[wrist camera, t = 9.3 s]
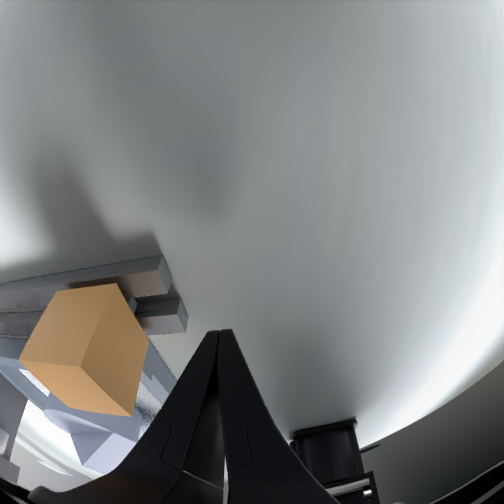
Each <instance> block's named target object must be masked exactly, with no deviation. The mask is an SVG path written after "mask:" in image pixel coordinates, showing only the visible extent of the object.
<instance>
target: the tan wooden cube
mask: <svg viewBox="0 0 504 504" xmlns="http://www.w3.org/2000/svg"><path fill="white" fill-rule="evenodd" d="M136 307H137V303H136V301H135V299H134V298H126V299H125V298H124V296H123V295H122V293H121V291H120V289H119V287H118V285H117V283H114V284H106V285H99V286H91V287H84V288H76V289H68V290H61V291H57V292H56V293H55V295H54V296H53V298H52V300H51V301H50V303H49V305H48V306H47V308H46V309H45V311H44V313H43V315H42V316H41V318H40V320H39V321H38V323H37V325H36V327H35V328H34V330H33V332H32V334H31V336H30V338H29V340H28V341H27V343H26V345H25V347H24V349H23V351H22V353H21V355H20V357H19V361H20V362H21V363H22V364H23V365H24V366H25V367H26V368H27V369H28V370H29V371H30V372H31V373H32V374H33V375H34V376H35V377H36V378H37V379H38V380H39V381H40V382H41V383H42V384H43V385H44V386H45V387H46V388H47V389H49V390H50V391H51V392H52V393H53V394H54V395H55V396H56V397H57V398H59V399H60V400H61V401H62V402H63V403H64V404H66V405H67V406H68V407H70V408H74V409H80V410H85V411H91V412H97V413H104V414H111V415H119V416H129V417H132V416H133V411H134V406H135V401H136V396H137V391H138V387H139V382H140V378H141V373H142V369H143V365H144V361H145V357H146V353H147V349H148V345H149V339H148V337H147V336H146V334H145V333H144V331H143V329H142V328H141V326H140V324H139V323H138V321H137V319H136V318H135V316H134V312H135V309H136Z"/></svg>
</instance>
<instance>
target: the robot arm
mask: <svg viewBox="0 0 504 504" xmlns="http://www.w3.org/2000/svg"><path fill="white" fill-rule="evenodd" d="M357 424H358V423H357V420H351V421H347V422H343V423H339V424H334V425H329V426H325V427H320V428H314V429H309V430H303V431H297V432H294V433H293V439H294V441H291V442H290V443H289V444H290V446H289V444H288V443H287V442H286V440H285V439H284V437H283V436H282V434H281V433H280V431H279V430H278V428H277V426H276V425H275V423H274V421H273V419H272V417H271V415H270V413H269V411H268V409H267V407H266V405H265V403H264V401H263V398H262V396H261V394H260V392H259V390H258V388H257V385H256V383H255V381H254V379H253V376H252V374H251V372H250V370H249V367H248V365H247V363H246V361H245V358H244V356H243V354H242V351H241V349H240V347H239V344H238V342H237V340H236V337H235V335H234V333H233V330H232V329H222V330H220V331H219V330H212V331H208V332H207V333H206V335H205V337H204V338H203V340H202V342H201V343H200V345H199V347H198V348H197V350H196V351H195V353H194V355H193V356H192V358H191V360H190V361H189V363H188V365H187V366H186V368H185V370H184V371H183V373H182V374H181V376H180V378H179V379H178V381H177V383H176V384H175V386H174V388H173V389H172V391H171V392H170V394H169V396H168V397H167V399H166V401H165V402H164V404H163V406H162V407H161V409H160V410H159V412H158V414H157V415H156V417H155V418H154V420H153V421H152V423H151V424H150V426H149V427H148V429H147V430H146V432H145V433H144V434H143V436H142V437H141V438H140V440H139V441H138V442H137V443H136V444H135V446H134V447H133V448H132V449H131V451H130V452H129V453H128V454H127V456H126V457H125V458H124V459H123V460H122V462H121V463H120V464H119V465H118V466H117V467H116V468H115V469H114V470H112V471H111V472H109V473H108V474H106V475H104V476H102V477H99V478H97V479H95V480H93V481H91V482H88V483H86V484H83V485H81V486H79V487H76V488H74V489H72V490H69V491H65V492H58V491H55V490H53V489H50V488H47V487H45V486H42V485H41V486H39V487H37V488H35V489H34V490H32V491H31V490H29V489H27V488H25V487H22V486H20V485H18V484H16V483H14V482H12V481H10V480H8V479H6V478H4V477H2V476H1V475H0V504H223V487H224V465H225V457H226V465H227V471H228V484H229V491H228V501H227V504H380V502H379V497H378V492H377V487H376V483H375V478H374V474H373V471H369V472H367V473H366V474H365V473H364V468H363V463H362V459H361V454H360V450H359V446H358V441H357V437H356V433H355V428H356V426H357ZM366 481H369V483H370V484H369V485H366V486H362V487H359V488H355V489H352V490H348V491H344V492H340V493H336V494H330V493H329V491H333V490H337V489H341V488H345V487H349V486H353V485H356V484H360V483H363V482H366ZM370 492H371V493H372V495H369V496H365V495H364V494H367V493H370ZM395 504H404V503H403V502H399V503H395ZM430 504H504V461H503V462H501V463H499V464H497V465H496V466H494V467H492V468H491V469H489V470H488V471H486V472H484V473H483V474H481V475H480V476H478V477H476V478H475V479H474V480H472V481H470V482H469V483H467V484H465V485H464V486H462V487H460V488H458V489H457V490H455V491H453V492H452V493H450V494H448V495H446V496H444V497H442V498H440V499H438V500H436V501H434V502H432V503H430Z"/></svg>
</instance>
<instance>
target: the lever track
mask: <svg viewBox="0 0 504 504" xmlns="http://www.w3.org/2000/svg"><path fill="white" fill-rule="evenodd" d="M171 280H172V277H171V275H170V272H169V270H168V267H167V265H166V262H165V260H164V257H163V255H162V256H156V257H150V258H144V259H138V260H132V261H126V262H120V263H115V264H109V265H103V266H97V267H92V268H86V269H80V270H75V271H69V272H63V273H58V274H52V275H47V276H41V277H36V278H30V279H25V280H20V281H14V282H9V283H4V284H0V309H12V308H27V307H41V306H48V305H49V303H50V301H51V300H52V298H53V296H54V295H55V293H56V292H57V291H61V290H68V289H76V288H84V287H91V286H99V285H106V284H114V283H117V285H118V287H119V289H120V291H121V293H122V295H123V296H124V298H125V299H126V298H135V297H144V296H153V295H161V294H168V290H169V287H170V283H171ZM43 313H44V311H39V312H20V313H0V334H1V335H16V336H31V334H32V332H33V330H34V328H35V327H36V325H37V323H38V321H39V320H40V318H41V316H42V315H43ZM134 316H135V318H136V319H137V321H138V323H139V324H140V326H141V328H142V329H143V331H144V333H145V334H146V335H157V334H171V333H184V332H186V327H187V321H188V315H187V313H186V311H185V308H184V306H183V304H182V301H181V299H173V300H165V301H156V302H146V303H137V307H136V309H135V312H134Z"/></svg>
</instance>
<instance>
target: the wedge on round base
mask: <svg viewBox="0 0 504 504" xmlns="http://www.w3.org/2000/svg"><path fill="white" fill-rule="evenodd" d="M43 412H44V414H45V416H46V417H47V418H48V419H49V420H50V421H51V422H52V423H54V424H55V425H56V426H58V427H59V428H61V429H62V430H64V431H66V432H67V433H69V434H71V437H72V440H73V443H74V446H75V448H76V451H77V454H78V456H79V459H80V461H81V464H82V466H85V467H87V468H89V469H92V470H94V471H97V472H99V473H102V474H105V475H106V474H108V473H109V472H111V471H112V470H114V469H115V468H116V467H117V466H118V465H119V464H120V463H121V462H122V460H123V459H124V458H125V457H126V456H127V454H128V453H129V452H130V451H131V449H132V448H133V447H134V446H135V444H136V443H137V442H138V439H139V433H140V426H141V420H142V415H141V413H140V412H139V410H138V409H137V408H136V407H134V411H133V416H132V417H129V416H119V415H111V414H104V413H97V412H91V411H85V410H80V409H74V408H70V407H68V406H67V405H66V404H64V403H63V402H62V401H61V400H60V399H59V398H57V397H56V396H55V395H54V394H53V393H52V392H51V391H50V394H49V396H48V399H47V402H46V405H45V408H44V411H43Z"/></svg>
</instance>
